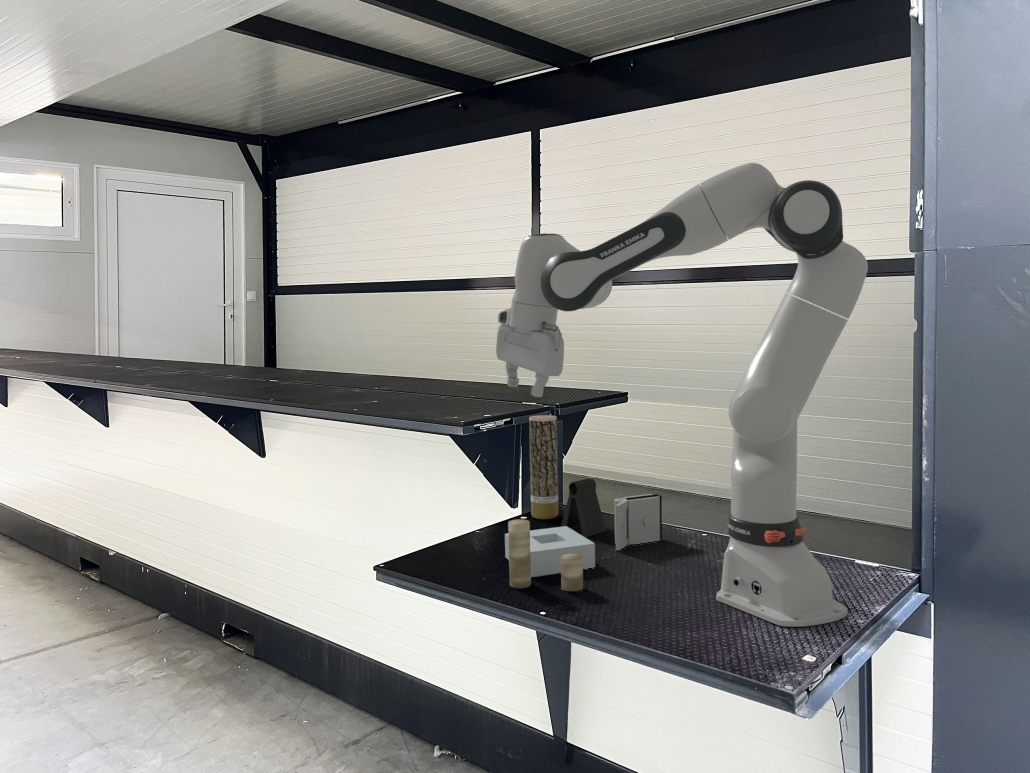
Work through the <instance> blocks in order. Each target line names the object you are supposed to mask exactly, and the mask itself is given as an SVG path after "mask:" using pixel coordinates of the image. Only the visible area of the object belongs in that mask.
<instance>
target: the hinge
mask: <svg viewBox="0 0 1030 773" xmlns="http://www.w3.org/2000/svg"><path fill="white" fill-rule="evenodd" d="M662 499H663V498H662V495H659V494H657V493H648V494H638V495H632V496H630V495H629V496H623V497H621V498H619V497H618V498H615V499H614V508H613V510H614V545H615V544H616V545H615V551H616V550H621V549H622V548H624V547H625V546H626V545H628V544H629V545H630V544H640V543H647V542H653V541H659V540H660V539H662V540H663V531H662V530H663V525H662V524H663V523H662V521H663V519H662V518H663V515H662V513H663V511H662V506H663V505H662ZM660 541H661V540H660ZM653 543H654V542H653ZM647 544H648V543H647ZM640 545H641V544H640ZM624 549H625V548H624ZM621 551H622V550H621Z"/></svg>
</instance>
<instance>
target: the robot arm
mask: <svg viewBox="0 0 1030 773" xmlns="http://www.w3.org/2000/svg"><path fill="white" fill-rule="evenodd" d="M758 228H762V229H764V230H765V231H766V232H767V233H768V234H769V235H771V237H772V238H773V239H774V240H775V242H776V243H778V244H779V245H780V246H782V247H783V248H784V249H786V250H787V251H790V252H793V253H795V254H796V257H797V268H796V270H795V274H794V276H793V278H792V281H791V282H790V284H789V286H788V288H787V290H786V292H785V294H784V296H783V298H782V300H781V301H780V303H779V306H778V308H777V309H776V311H775V313H774V315H773V317H772V319H771V321H770V324H769V326H768V328H766V331H765V333H764V335H763V336H762V339H761V340H760V343H759V345H758V347H757V348H756V351H755V352H754V354H753V355H752V358H751V360H750V361H749V364H748V366H747V367H746V368H745V371H744V373H743V375H742V377H741V379H740V381H739V382H738V385H737V386H736V389H735V390H734V392H733V394H732V396H731V399H730V401H729V405H728V418H729V422H730V424H731V426H732V429H733V431H732V432H733V436H732V452H731V453H732V454H731V468H730V473H731V474H730V513H728V520H727V528H728V529H727V533H728V535H729V536H730V537H729V542H728V544H727V548H726V550H725V552H724V553H723V554H724V555H723V562H722V564H723V565H722V572H721V573H722V574H721V586H720V590H719V591H717V592H716V596H715V600H716V601H718V602H719V603H723V604H725V605H728V606H730V607H732V608H734V609H738V610H740V611H742V612H745V613H747V614H750V615H752V616H755V617H757V618H760V619H762V620H765V621H767V622H769V623H772V624H775V625H777V626H781V627H791V628H792V627H798V628H799V627H809V626H811V627H812V626H818V625H823V624H829V623H833V622H837V621H840V620H841V619H844V618H845V617H847V616H848V615H849V611H848V610H849V609H848V608H847V606H845V605H843V604H842V603H840V602H839V601H837V600H836V599H835V598H833V588H832V587H833V586H832V581H831V577H830V575H829V574H828V572H827V568H826V567H825V566H824V565H822V564H820V563H819V561H818V560H817V559H816V558H815V556H814V555H813V553H812V552H811V551H810V549H809V548H808V547H807V546H806V544H805V542H804V539H805V538H804V535H808V533H807V532H804V531H807V530H808V528H807V527H801V523H800V520H799V517H798V516H797V483H798V481H797V478H798V476H797V474H798V472H797V469H798V466H797V464H798V418H799V417H800V415H801V413H802V411H803V410H804V407H805V405H806V403H807V402H808V399H809V397H810V395H811V393H812V391H813V389H814V387H815V385H816V383H817V381H818V379H819V377H820V375H821V372H822V371H823V369H824V367H825V365H826V362H827V360H828V358H829V357H830V355H831V353H832V351H833V349H834V347H835V345H836V343H837V342H838V340H839V338H840V336H841V334H842V332H843V330H844V328H845V326H846V325H847V323H848V321H849V320H848V319H850V317H851V315H852V314H853V310H854V308H855V306H856V305H857V302H858V300H859V297H860V294H861V292H862V290H863V286H864V284H865V280H866V278H867V274H868V270H869V268H868V267H869V266H868V265H869V264H868V260H867V258H866V256H865V255H864V254H863V253H862V252H861V251H860V250H859V249H857V248H856V247H855V246H853V245H851V244H849V243H847V242H845V241H844V229H843V228H844V227H843V209H842V205H841V201H840V197H838V195H837V193H836V192H835V190H834V189H832V188H831V187H830V186H829V185H828V184H825V183H823V182H820V181H819V180H818V181H817V180H812V179H809V180H808V179H805V180H800V181H797V182H794V183H791V184H790V185H788V186H786V187H783V186H781V185H780V184H779V183H778V182H777V180H776V178H775V177H774V175H773V173H771V171H770V170H769V169H768V168H766V167H765V166H763V165H762V164H761V163H757V162H747V163H744V164H741V165H738V166H734V167H733V168H730V169H727V170H725V171H723V172H721V173H718V174H716V175H713V176H712V177H709V178H707V179H706V180H704V181H702V182H700V183H698V184H697V185H694V186H693V187H692V188H689V189H688V190H686V191H685V192H684V193H682V194H679V195H678V196H677V197H676V198H674V199H673V200H671V201H670V202H669V203H668V204H666V205H664V207H662V208H661V209H659V210H658V211H657V212H656V213H653V214H652V215H651V216H650V217H648V218H647V219H645V220H643V221H642V222H641V223H639V224H638V225H636V226H634V227H631V228H630V229H628V230H626V231H624V232H622V233H620V234H619V235H616V236H615V237H612V238H611V239H609V240H606V241H604V242H602V243H600V244H599V245H596V246H595V247H592V248H589V249H587V250H579V249H578V248H577V247H575V246H573V244H570V243H569V242H568V240H566V239H565V238H564V236H563V235H562V234H559V233H545V232H544V233H535V234H531V235H528V236H527V237H526V238H524V239H523V241H522V242H521V245H520V247H519V250H518V255H517V261H516V265H515V274H514V282H515V283H514V284H515V289H514V292H513V293H514V294H513V296H512V298H511V305H510V306H509V307H508V308H506V309H503V310H502V311H499V312H498V315H497V322H498V324H499V326H498V328H497V336H496V343H495V344H496V345H495V353H496V354H495V355H496V358H497V359H498V360H499V361H502V362H505V372H506V375H507V381H506V385H507V386H508V387H511V388H518V387H519V382H520V378H519V377H518V370H519V368H522V369H525V370H527V371H531V372H534V373H535V375H534V376H535V377H534V378H535V382H534V385H532V386H531V388H530V390H531V391H530V395H531V396H532V397H535V398H543V395H544V388H545V387H546V385H547V383H548V381H549V379H550V378H549V377H560V375H561V374H562V372H563V370H564V360H565V358H564V356H565V355H564V354H565V342H564V338H563V333H562V332H561V330H560V327H559V325H557V320H558V319H557V318H558V311H562V312H573V311H574V312H575V311H578V310H583V309H584V310H585V309H592V308H595V307H597V306H599V305H601V304H602V303H604V302H605V301H606V300H607V299H608V298H609V296H610V294H611V292H612V289H613V280H615V279H617V278H618V277H620V276H623V275H625V274H626V273H628V272H630V271H632V270H634V269H636V268H638V267H640V266H642V265H645V264H646V263H649V262H651V261H654V260H657V259H663V258H666V257H667V258H668V257H678V256H680V257H681V256H684V257H685V256H692V255H695V254H698V253H702V252H704V251H708V250H711V249H714V248H716V247H718V246H720V245H723V244H724V243H726V242H728V241H730V240H731V239H733V238H736V237H737V236H740V235H741V234H743V233H746V232H747V231H750V230H753V229H758Z"/></svg>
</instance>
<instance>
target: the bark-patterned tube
mask: <svg viewBox="0 0 1030 773" xmlns="http://www.w3.org/2000/svg"><path fill="white" fill-rule="evenodd" d="M557 418H558V417H557V416H556V415H550V414H549V415H547V414H545V415H544V414H541V415H540V414H539V415H532V416H529V419H528V421H529V423H528V424H529V425H528V426H529V427H528V428H529V430H528V431H529V472H530V473H529V474H530V476H529V477H530V480H529V481H530V510H531V511H530V514H531V516H532V518H534V519H537V520H550V519H555V518H557V517H558V516H559V471H558V470H559V469H558V468H559V467H558V466H559V465H558V460H559V459H558V419H557Z"/></svg>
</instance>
